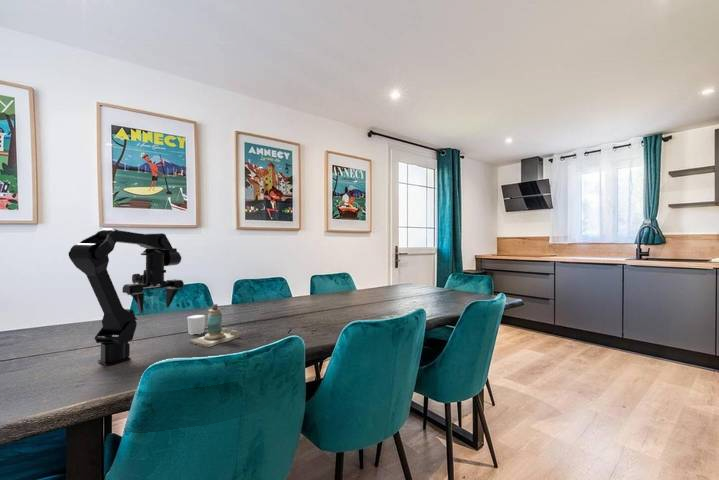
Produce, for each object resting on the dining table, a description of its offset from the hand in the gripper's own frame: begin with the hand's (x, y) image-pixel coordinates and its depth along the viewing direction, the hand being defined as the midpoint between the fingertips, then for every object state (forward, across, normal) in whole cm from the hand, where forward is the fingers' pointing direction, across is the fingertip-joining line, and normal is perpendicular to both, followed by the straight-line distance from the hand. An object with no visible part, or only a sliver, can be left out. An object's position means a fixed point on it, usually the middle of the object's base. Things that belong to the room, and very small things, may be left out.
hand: (154, 309), depth 117 cm
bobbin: (+12, -15, +14) cm, 24 cm away
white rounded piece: (+13, -17, -1) cm, 22 cm away
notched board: (+13, -15, +14) cm, 24 cm away
